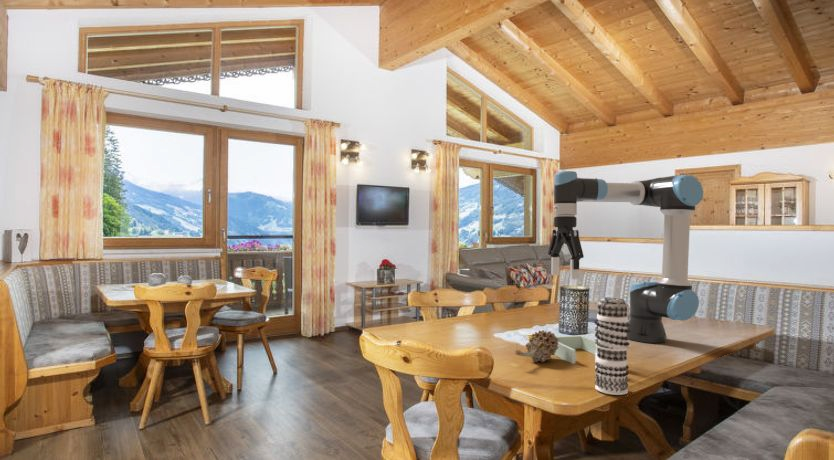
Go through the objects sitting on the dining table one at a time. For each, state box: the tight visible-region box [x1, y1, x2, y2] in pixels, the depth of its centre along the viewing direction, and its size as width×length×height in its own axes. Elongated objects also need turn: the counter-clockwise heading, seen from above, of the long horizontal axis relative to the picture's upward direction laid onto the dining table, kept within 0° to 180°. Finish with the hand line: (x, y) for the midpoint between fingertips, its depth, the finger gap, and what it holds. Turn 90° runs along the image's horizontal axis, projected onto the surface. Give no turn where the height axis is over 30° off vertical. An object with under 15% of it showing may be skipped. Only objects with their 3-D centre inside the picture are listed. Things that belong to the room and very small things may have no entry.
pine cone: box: [514, 330, 559, 364], centre depth 159 cm, size 22×10×10 cm, turn 138°
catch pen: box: [554, 335, 596, 365], centre depth 170 cm, size 15×19×4 cm
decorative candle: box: [593, 297, 630, 396], centre depth 133 cm, size 9×9×25 cm
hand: (564, 277), depth 168 cm, fingers open, 13 cm apart
